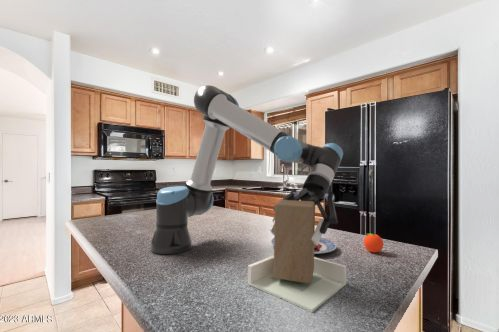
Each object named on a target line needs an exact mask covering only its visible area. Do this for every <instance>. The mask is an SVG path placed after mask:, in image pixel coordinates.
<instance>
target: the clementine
mask: <svg viewBox="0 0 499 332" xmlns="http://www.w3.org/2000/svg"><path fill="white" fill-rule="evenodd" d="M364 236H365V237H364ZM363 237H364V238H363ZM361 238H363V246H364V248H365V249H366V250H367V251H368V252H371V253H374V254H375V253H379V252H381V251H382V250H383V248H384V241H383V239H382V237H381V236H380V235H378V234H374V233H368V234H367V233H365V234H363V236H361Z"/></svg>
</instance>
